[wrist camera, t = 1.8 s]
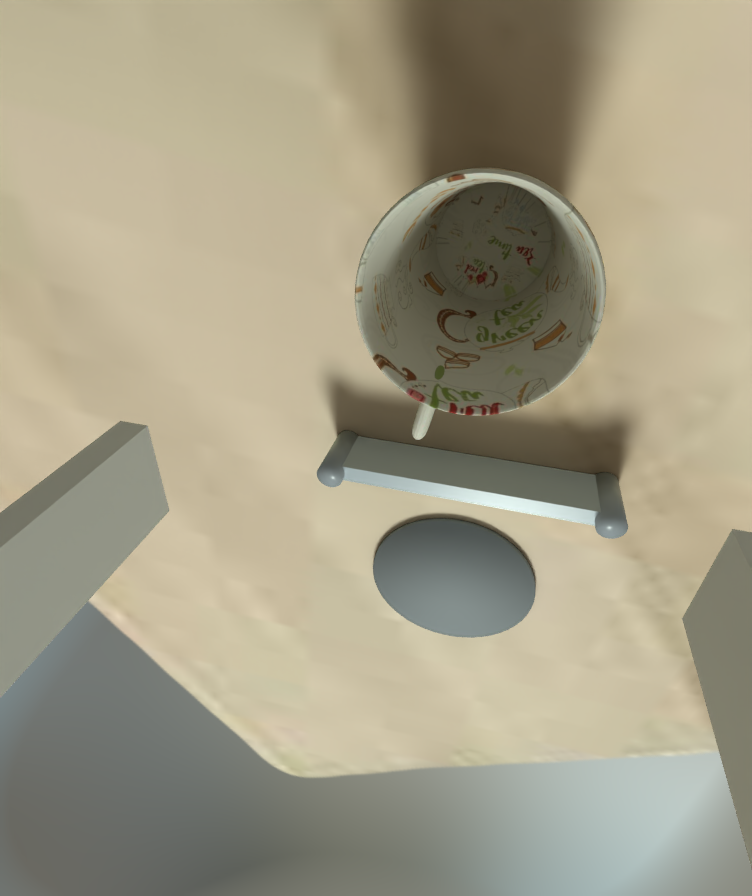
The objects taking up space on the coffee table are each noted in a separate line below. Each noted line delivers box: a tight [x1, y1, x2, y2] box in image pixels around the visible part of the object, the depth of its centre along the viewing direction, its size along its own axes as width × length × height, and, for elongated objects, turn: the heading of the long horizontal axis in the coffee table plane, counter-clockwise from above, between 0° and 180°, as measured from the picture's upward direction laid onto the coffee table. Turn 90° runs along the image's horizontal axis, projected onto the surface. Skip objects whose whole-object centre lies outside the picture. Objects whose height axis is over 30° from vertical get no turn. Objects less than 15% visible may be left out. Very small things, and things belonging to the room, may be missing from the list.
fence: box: [317, 431, 628, 538], centre depth 31 cm, size 2×18×4 cm, turn 89°
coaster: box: [373, 518, 535, 637], centre depth 39 cm, size 12×12×1 cm
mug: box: [355, 167, 606, 440], centre depth 23 cm, size 8×13×10 cm, turn 167°
